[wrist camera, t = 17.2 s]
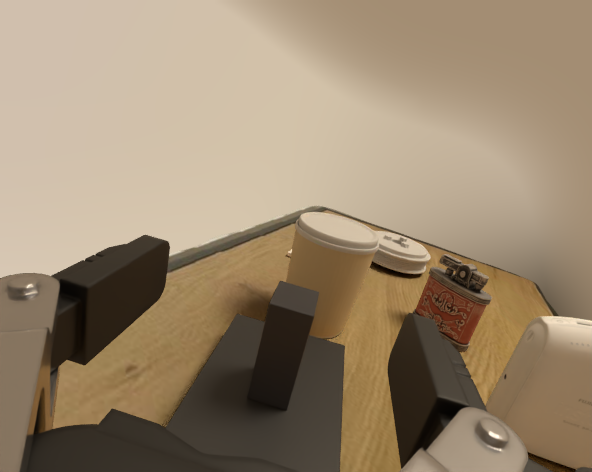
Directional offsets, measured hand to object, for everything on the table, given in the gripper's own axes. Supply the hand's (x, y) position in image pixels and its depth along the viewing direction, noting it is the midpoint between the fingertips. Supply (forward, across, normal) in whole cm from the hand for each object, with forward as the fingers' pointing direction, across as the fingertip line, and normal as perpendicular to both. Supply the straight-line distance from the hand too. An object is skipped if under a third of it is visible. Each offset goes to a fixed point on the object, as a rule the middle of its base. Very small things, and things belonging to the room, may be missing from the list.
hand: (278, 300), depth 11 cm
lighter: (+32, -19, +17) cm, 41 cm away
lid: (+54, -15, +17) cm, 58 cm away
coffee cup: (+26, -2, +17) cm, 31 cm away
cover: (+11, 0, +16) cm, 20 cm away
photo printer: (+17, -24, +16) cm, 34 cm away
